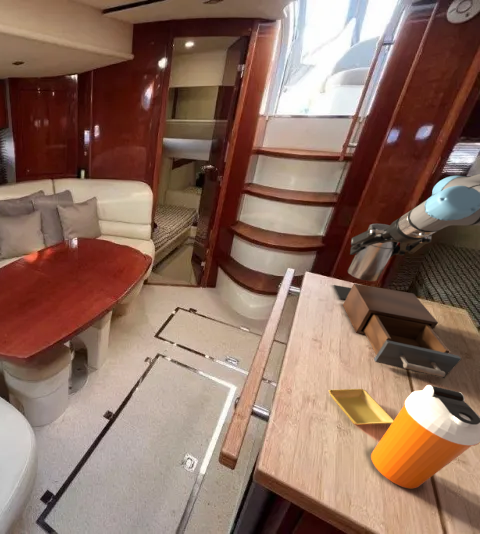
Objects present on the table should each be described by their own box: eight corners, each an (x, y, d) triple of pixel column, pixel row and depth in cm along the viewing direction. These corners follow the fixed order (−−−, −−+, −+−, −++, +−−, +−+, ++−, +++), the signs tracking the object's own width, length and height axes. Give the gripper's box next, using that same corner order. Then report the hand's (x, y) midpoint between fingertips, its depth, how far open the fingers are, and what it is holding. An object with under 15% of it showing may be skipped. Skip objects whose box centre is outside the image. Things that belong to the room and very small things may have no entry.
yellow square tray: (392, 428, 66) (397, 422, 65) (352, 429, 66) (356, 424, 65) (359, 394, 73) (363, 388, 72) (324, 395, 73) (327, 389, 72)
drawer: (454, 392, 72) (472, 371, 69) (381, 373, 77) (394, 354, 74) (419, 342, 86) (432, 323, 83) (359, 330, 91) (369, 311, 88)
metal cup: (373, 271, 105) (398, 225, 97) (381, 283, 99) (409, 235, 90) (344, 266, 108) (366, 222, 100) (351, 278, 102) (374, 231, 93)
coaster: (363, 291, 110) (364, 290, 109) (372, 305, 103) (372, 304, 102) (333, 286, 113) (333, 284, 113) (339, 299, 106) (340, 298, 106)
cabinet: (420, 346, 86) (438, 322, 82) (355, 332, 91) (369, 309, 87) (399, 315, 98) (413, 293, 93) (342, 305, 103) (353, 283, 99)
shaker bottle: (381, 487, 56) (443, 422, 46) (355, 440, 64) (404, 375, 54) (440, 500, 54) (518, 435, 44) (406, 450, 62) (467, 385, 52)
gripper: (365, 232, 85) (329, 258, 106) (467, 245, 77) (407, 269, 98) (367, 208, 87) (331, 238, 107) (468, 218, 79) (408, 248, 100)
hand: (367, 253), depth 103 cm, fingers closed on metal cup, 8 cm apart
